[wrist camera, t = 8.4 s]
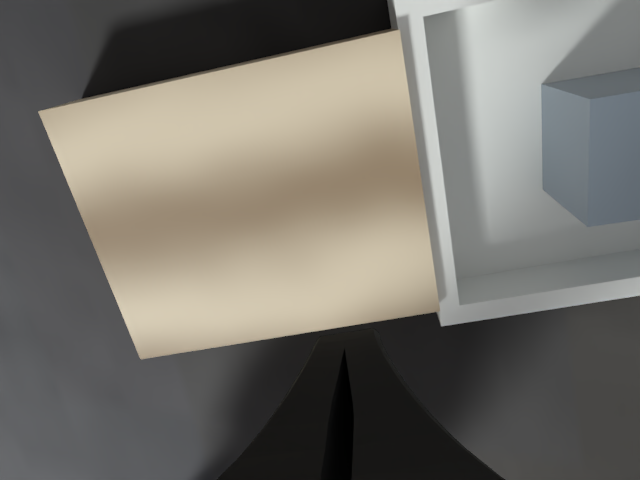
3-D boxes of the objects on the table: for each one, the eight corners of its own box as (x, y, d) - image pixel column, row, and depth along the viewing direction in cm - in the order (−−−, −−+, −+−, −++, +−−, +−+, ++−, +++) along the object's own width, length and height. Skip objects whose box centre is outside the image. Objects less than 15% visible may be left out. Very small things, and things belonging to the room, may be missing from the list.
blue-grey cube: (650, 173, 20) (722, 207, 16) (542, 189, 20) (587, 227, 16) (658, 63, 18) (738, 74, 14) (541, 84, 19) (590, 99, 15)
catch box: (778, 238, 21) (832, 265, 19) (431, 295, 23) (441, 326, 20) (824, -105, 16) (903, -125, 14) (386, -2, 18) (393, -6, 16)
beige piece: (428, 275, 22) (440, 311, 19) (164, 319, 24) (140, 359, 21) (391, 28, 18) (399, 29, 16) (80, 98, 20) (38, 111, 17)
